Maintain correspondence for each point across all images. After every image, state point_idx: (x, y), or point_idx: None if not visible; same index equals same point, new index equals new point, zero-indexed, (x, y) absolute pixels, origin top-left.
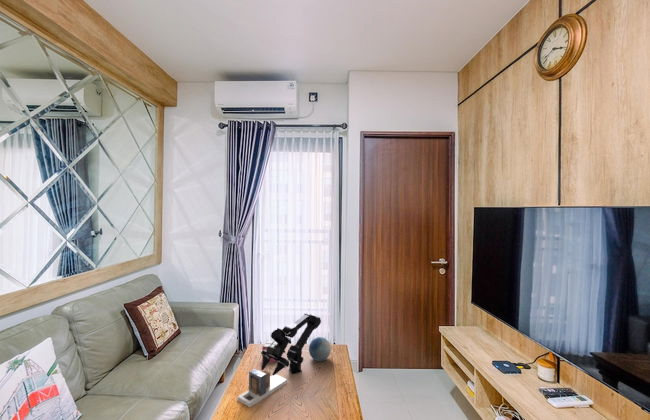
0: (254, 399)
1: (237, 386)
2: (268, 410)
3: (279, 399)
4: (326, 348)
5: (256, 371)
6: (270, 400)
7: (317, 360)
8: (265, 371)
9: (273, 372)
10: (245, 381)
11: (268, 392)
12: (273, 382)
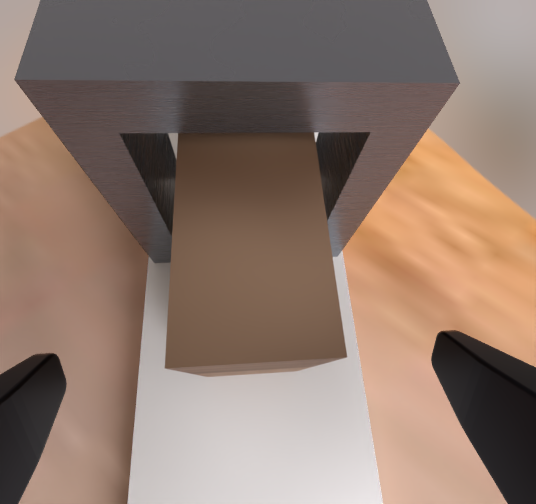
0: (172, 140)
1: (480, 211)
2: (13, 171)
3: (6, 331)
4: None
5: (309, 36)
6: (83, 263)
7: None
8: (294, 324)
9: (6, 385)
10: (518, 303)
11: (147, 295)
12: (237, 481)
